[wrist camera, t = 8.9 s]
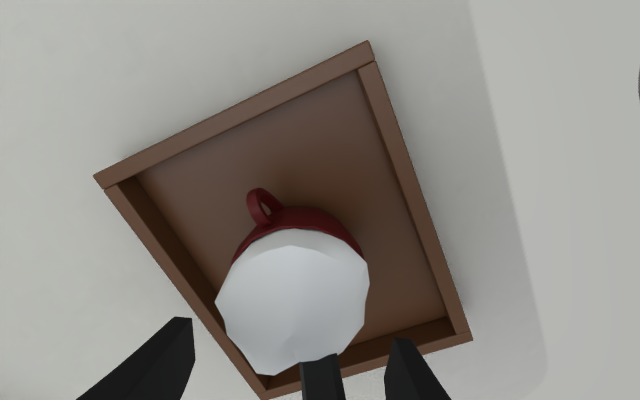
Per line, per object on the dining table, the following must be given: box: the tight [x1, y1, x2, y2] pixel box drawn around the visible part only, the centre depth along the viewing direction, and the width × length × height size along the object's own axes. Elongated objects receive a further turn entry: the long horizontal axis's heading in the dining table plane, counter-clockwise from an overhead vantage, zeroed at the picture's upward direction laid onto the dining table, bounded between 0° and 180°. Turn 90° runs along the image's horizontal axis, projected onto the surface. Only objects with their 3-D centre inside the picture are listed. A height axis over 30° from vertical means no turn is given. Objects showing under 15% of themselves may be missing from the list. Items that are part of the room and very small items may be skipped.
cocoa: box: [215, 188, 370, 400], centre depth 12 cm, size 10×6×12 cm, turn 1°
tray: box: [93, 40, 473, 400], centre depth 17 cm, size 17×14×2 cm
